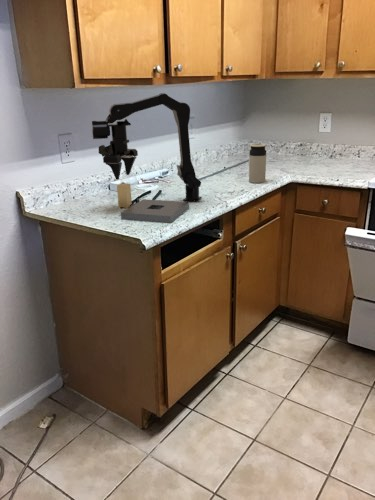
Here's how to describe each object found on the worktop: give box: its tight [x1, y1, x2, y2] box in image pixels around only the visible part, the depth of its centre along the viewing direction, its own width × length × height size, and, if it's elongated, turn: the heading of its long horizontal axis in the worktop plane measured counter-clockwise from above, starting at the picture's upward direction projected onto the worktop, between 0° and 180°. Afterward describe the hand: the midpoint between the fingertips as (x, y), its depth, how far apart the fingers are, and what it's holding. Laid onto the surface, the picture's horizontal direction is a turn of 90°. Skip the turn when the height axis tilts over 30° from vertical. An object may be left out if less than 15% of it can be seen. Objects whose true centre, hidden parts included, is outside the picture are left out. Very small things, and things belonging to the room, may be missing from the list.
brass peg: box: [116, 182, 133, 209], centre depth 181 cm, size 4×4×9 cm
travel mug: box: [248, 143, 267, 184], centre depth 214 cm, size 8×8×18 cm
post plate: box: [120, 198, 190, 224], centre depth 171 cm, size 20×20×2 cm
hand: (122, 177), depth 178 cm, fingers open, 9 cm apart
